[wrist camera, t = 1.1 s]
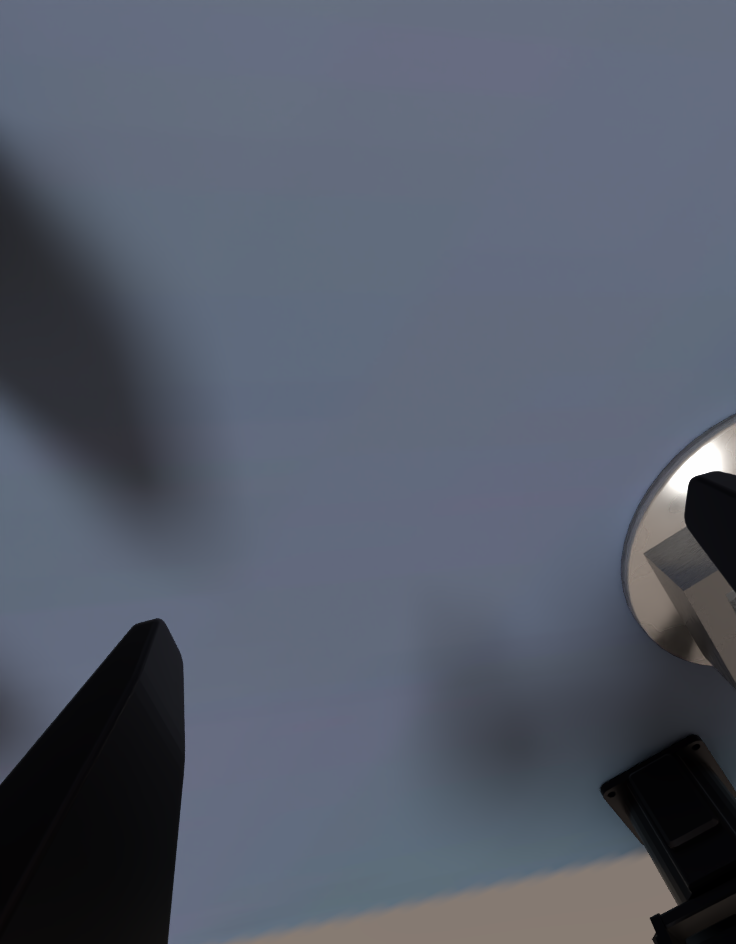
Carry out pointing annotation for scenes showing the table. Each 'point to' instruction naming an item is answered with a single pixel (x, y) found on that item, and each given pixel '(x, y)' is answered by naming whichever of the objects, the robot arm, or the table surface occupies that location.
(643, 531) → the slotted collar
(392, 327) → the table surface
